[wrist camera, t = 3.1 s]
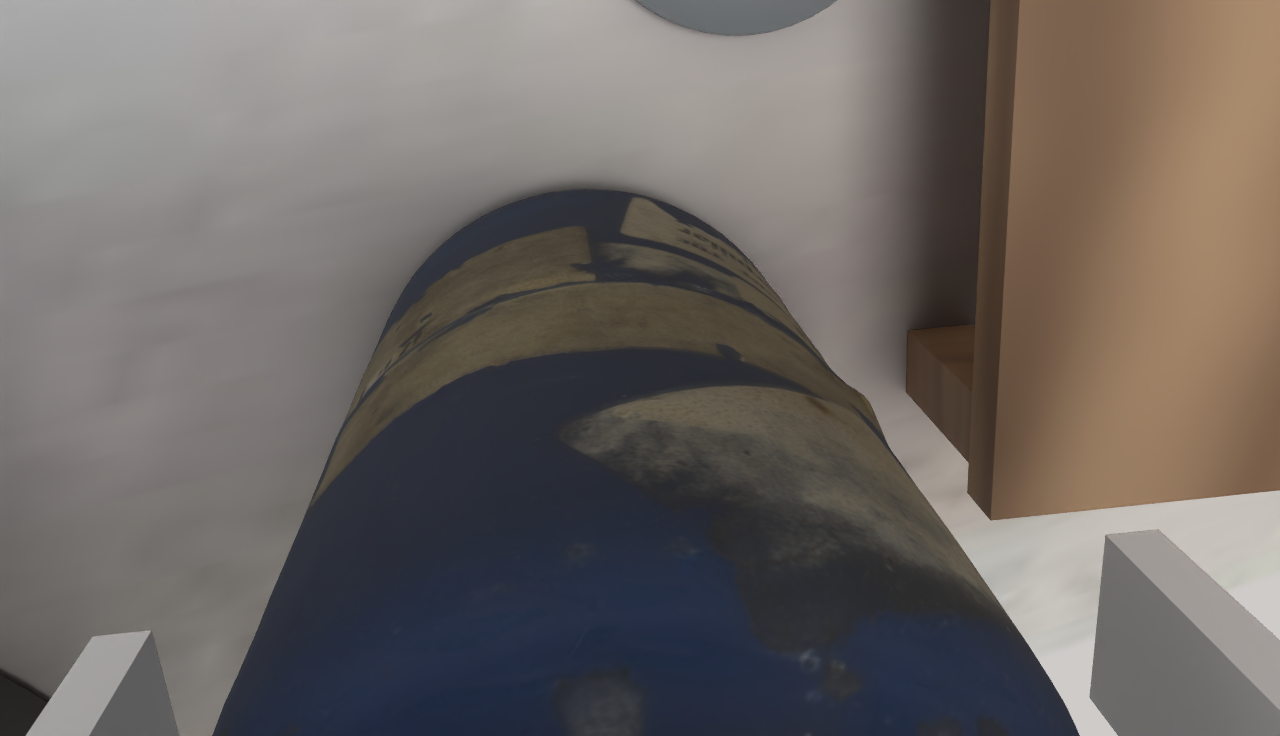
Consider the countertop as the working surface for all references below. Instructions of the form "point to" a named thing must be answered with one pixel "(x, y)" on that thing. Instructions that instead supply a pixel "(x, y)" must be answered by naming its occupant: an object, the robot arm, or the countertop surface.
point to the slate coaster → (736, 14)
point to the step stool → (1120, 261)
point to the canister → (621, 517)
